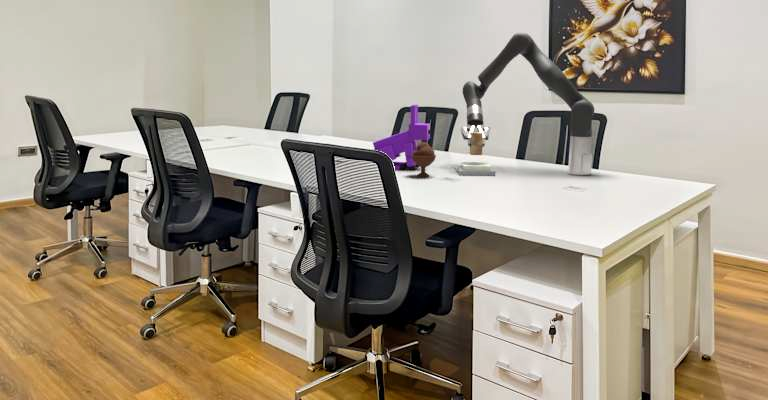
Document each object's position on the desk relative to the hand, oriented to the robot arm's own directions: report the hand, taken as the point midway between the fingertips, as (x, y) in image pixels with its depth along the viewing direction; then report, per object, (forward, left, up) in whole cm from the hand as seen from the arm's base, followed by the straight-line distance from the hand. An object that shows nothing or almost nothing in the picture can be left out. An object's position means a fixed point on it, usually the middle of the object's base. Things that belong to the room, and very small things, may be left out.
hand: (476, 145), depth 288 cm
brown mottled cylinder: (+2, -1, -4) cm, 5 cm away
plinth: (+1, -1, -13) cm, 13 cm away
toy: (+32, +18, -13) cm, 39 cm away
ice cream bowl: (+7, +25, -13) cm, 29 cm away
